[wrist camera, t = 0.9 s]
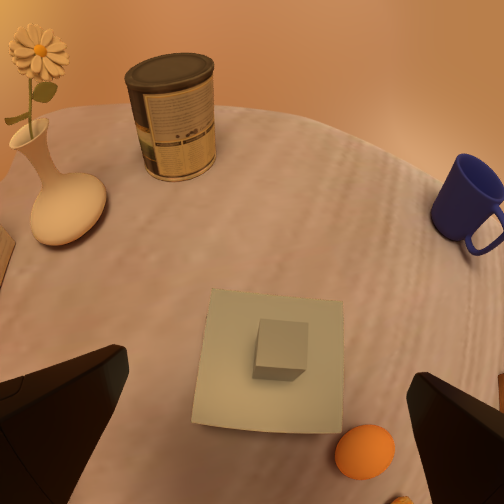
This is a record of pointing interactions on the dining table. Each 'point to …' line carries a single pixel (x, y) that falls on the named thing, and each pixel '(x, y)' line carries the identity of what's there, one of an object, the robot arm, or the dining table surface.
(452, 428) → the robot arm
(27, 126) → the flower in vase
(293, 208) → the dining table surface
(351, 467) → the ball
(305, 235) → the dining table surface
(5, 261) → the supplement box
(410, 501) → the croissant
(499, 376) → the walnut strip
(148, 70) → the coffee can
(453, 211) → the mug
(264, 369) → the cover
